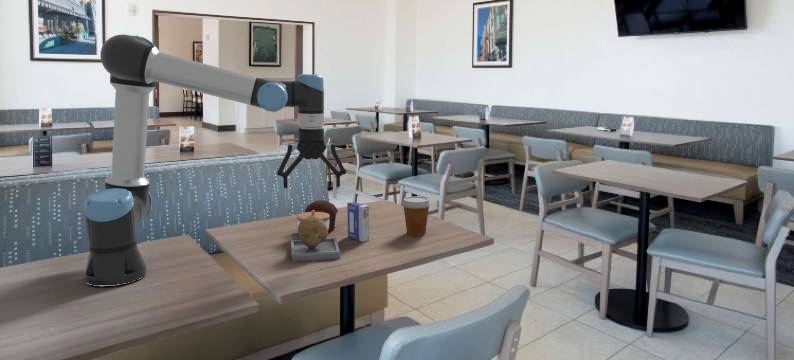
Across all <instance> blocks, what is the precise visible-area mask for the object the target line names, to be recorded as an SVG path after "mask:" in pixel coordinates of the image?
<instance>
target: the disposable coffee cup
mask: <svg viewBox="0 0 794 360" xmlns="http://www.w3.org/2000/svg"><path fill="white" fill-rule="evenodd" d="M401 204H402V206H403V212H404V220H405V228H406V234H407V235H408V236H412V237H419V236H424V235H426V230H427V223H428V216H429V208H430V205H431V202H430V199H429V198H428V197H426V196H419V195H417V196H416V195H414V196H407V197H404V198H403V201H402V202H401Z"/></svg>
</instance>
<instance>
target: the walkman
mask: <svg viewBox="0 0 794 360" xmlns="http://www.w3.org/2000/svg"><path fill="white" fill-rule="evenodd" d="M346 205H347V206H346V207H347V238H350V239H353V240H356V241H359V242H361V243H362V242H363V243H364V242H367V241H368V242H369V241H370V213H369V210H370V208H369V205H367V204H363V203H360V202H356V201H350V202H347V204H346Z"/></svg>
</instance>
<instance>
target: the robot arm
mask: <svg viewBox="0 0 794 360" xmlns="http://www.w3.org/2000/svg"><path fill="white" fill-rule="evenodd" d="M100 61H101V64H102V66H103V68H104V69H105V71H106V72H107V73H109V75H110V76H109V84H110V85H111V86H112V87H113V89H114V90H115V94H114V95H115V96H114V97H115V99H114V100H115V101H114V114H113V115H114V116H113V117H114V118H113V132H112V133H113V134H112V156H111V174H110V175H109V176H107V177H106V178H105V179H104V189H101V190H99V191H94V192H92V193H90V194H89V195H87V197H86V198H85V199H84V210H83V212H84V213H83V214H84V215H85V217H84V218H85V224H86V225H85V226H86V233H87V241H88V250H89V254H88V258H87V262H86V265H85V271H84V282H85V281H86V282H87V283H89V284H92V285H117V284H123V283H128V282H132V281H134V280H137V279H139V278H141V277H143V276H144V275H145V274H146V273H148V272H147V265H146V262H145V260H144V258H143V257H142V254H141V251H140V250H139V248H138V239H137V228H136V227H137V226H138V225H140V223H142V222H143V221H144V220H145V219H147V217H148V215H149V214H150V212H151V209H152V206H153V205H152V204H153V198H152V194H151V193H150V180H149V179H148V178H147V177H146V176H145V170H146V169H145V167H146V153H147V136H148V122H149V121H148V120H149V105H150V103H149V102H150V93H151V92H153V91H154V90H155V89H156V87H157V86H156V85H157V83H159V84H165V85H168V86H172V87H177V88H181V89H185V90H188V91H193V92H195V93H196V92H197V93H201V94H204V95H205V94H206V95H210V96H212V97H213V96H214V97H217V98H221V99H225V100H229V101H233V102H236V103H240V104H245V105H249V106H253V107H256V108H260V109H263V110H264V111H267V112H272V113H275V112H278V111H281V110H283V108H297V124H298V125H297V126H298V127H299V128H298V130H297V131H298V133H297V134H298V137H297V138H298V140H297V141H298V142H297V144H292V143H288V144H287V149H286V150H287V151H286V153H285V154H284V157H283V159H282V161H281V163H280V165H279V168H278V170H276V171H277V172H276V175H277V176H280V177H282V178H283V180H282V181H283V188H284V189H287V200H290V201H291V176H290V174H291V173H292V172H293V171H294V170H295V169H296V167H297V166H298V165H299V164H300V163H301V161H303V160H304V159H305V160H318V159H320V160H322V161H323V162H324V164H325V165H326V166H327V167H328V168H329V170H330V171H332V173H333V175H332V197H333V199H337V188H340V187H341V177H342V176H344V175H346V174H347V171H346V169H345V167H344V166H343V163H342V161H341V159H340V158H339V156H338V153H337V152H336V146H335V144H334V143H333V142H330V143H329V144H328V143H327V144H325V129H324V126H325V88H324V86H325V85H324V78H323V76H322V75H320V74H315V73H313V74H308V73H307V74H305V73H303V74H300V73H299V74H297V78H296V80H268V79H263V78H260V77H255V76H251V75H249V74H245V73H241V72H236V71H233V70H230V69H229V70H228V69H226V68H222V67H218V66H215V65H209V64H207V63H202V62H198V61H195V60H191V59H187V58H183V57H179V56H175V55H172V54H169V53H164V52H161V51H160V49H158V48H157V46H156V45H155V44H154V43H153V42H152V41H151V40H149V39H147V38H145V37H143V36H139V35H130V34H124V33H123V34H117V35H113V36H112V37H109V38H108V39H107V40H106V41H105V42H103V45H102V46H101V49H100ZM326 149H327V150H328V152H331V154H332V156H333V159H334V160H335V162H336V165H337V166H338V168H339V170H338V169H337V168H336V167H335V166H334V164H332V162H331V161H330V160H329V159H328V158H327V157H326V156H325V154H324V152H325V150H326ZM296 150H297V151H298V152H299V154H298V155H297V157H296V158H295V159H294V161H292V163H291V164H290V165H289V166H288V167H287V169H286V170H285V168H286V165H287V164H288V161H289V159H290V157H291V156H292V153H294V152H295V151H296ZM284 170H285V171H284ZM146 275H147V274H146ZM143 278H144V277H143Z"/></svg>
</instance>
